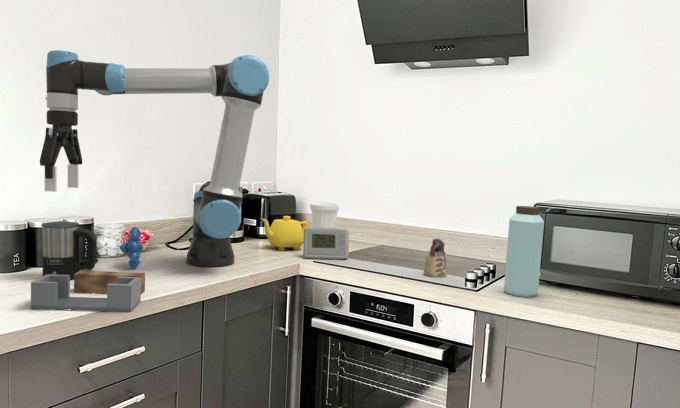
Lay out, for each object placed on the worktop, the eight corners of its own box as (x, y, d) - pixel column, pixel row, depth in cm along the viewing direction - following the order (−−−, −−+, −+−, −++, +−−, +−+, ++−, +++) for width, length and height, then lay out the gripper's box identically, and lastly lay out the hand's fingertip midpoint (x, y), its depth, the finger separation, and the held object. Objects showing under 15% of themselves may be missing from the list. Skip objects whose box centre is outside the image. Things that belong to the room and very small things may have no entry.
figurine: (450, 276, 181) (453, 239, 180) (437, 279, 176) (440, 240, 175) (432, 272, 186) (435, 236, 185) (419, 274, 181) (421, 237, 180)
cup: (326, 243, 230) (328, 206, 229) (302, 239, 237) (303, 203, 236) (343, 240, 241) (345, 204, 239) (319, 236, 247) (321, 202, 246)
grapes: (119, 263, 175) (120, 224, 174) (143, 262, 177) (143, 224, 176) (117, 271, 164) (118, 230, 163) (142, 271, 166) (143, 230, 165)
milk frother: (39, 282, 147) (39, 226, 146) (44, 269, 162) (44, 217, 160) (98, 280, 153) (99, 225, 152) (98, 267, 167) (98, 218, 166)
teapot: (252, 246, 215) (253, 214, 214) (299, 244, 226) (300, 213, 224) (266, 253, 204) (267, 218, 203) (315, 250, 214) (316, 218, 213)
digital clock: (301, 259, 197) (302, 228, 196) (304, 254, 205) (305, 225, 204) (347, 262, 195) (349, 231, 194) (349, 257, 204) (350, 228, 203)
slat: (144, 292, 144) (145, 272, 144) (140, 296, 140) (140, 276, 140) (80, 289, 143) (80, 270, 143) (73, 293, 139) (74, 273, 139)
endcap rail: (140, 302, 134) (140, 277, 134) (130, 311, 126) (131, 285, 126) (46, 299, 132) (46, 274, 132) (30, 309, 124) (30, 282, 124)
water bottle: (497, 288, 168) (504, 204, 165) (529, 289, 168) (537, 206, 166) (510, 297, 158) (517, 208, 155) (544, 298, 158) (552, 209, 156)
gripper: (68, 112, 164) (68, 185, 166) (24, 106, 139) (24, 192, 141) (94, 113, 164) (94, 186, 166) (55, 107, 139) (55, 193, 142)
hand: (62, 189), depth 154 cm, fingers open, 13 cm apart
